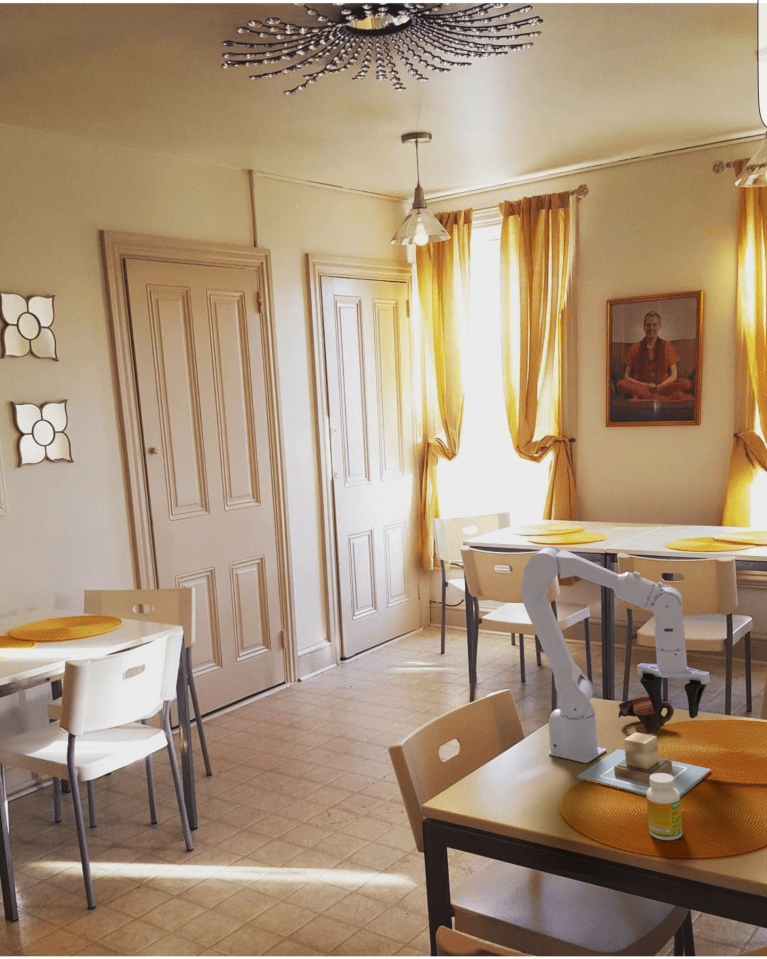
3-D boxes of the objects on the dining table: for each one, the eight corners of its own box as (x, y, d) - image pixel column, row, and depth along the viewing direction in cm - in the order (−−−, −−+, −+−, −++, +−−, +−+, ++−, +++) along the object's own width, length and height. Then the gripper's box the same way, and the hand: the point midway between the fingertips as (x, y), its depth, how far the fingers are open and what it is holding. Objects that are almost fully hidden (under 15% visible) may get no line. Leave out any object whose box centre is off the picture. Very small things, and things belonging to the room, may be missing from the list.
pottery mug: (625, 740, 190) (612, 703, 193) (628, 744, 198) (617, 708, 202) (679, 725, 187) (666, 688, 191) (681, 730, 195) (668, 694, 199)
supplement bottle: (678, 843, 143) (674, 786, 142) (645, 837, 146) (641, 781, 145) (686, 829, 147) (681, 773, 147) (654, 823, 150) (649, 769, 150)
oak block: (626, 764, 170) (624, 739, 169) (637, 756, 173) (635, 732, 172) (647, 769, 166) (645, 743, 166) (658, 761, 170) (656, 736, 169)
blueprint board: (577, 778, 171) (576, 766, 171) (618, 751, 182) (617, 739, 182) (673, 803, 157) (672, 789, 157) (711, 772, 168) (710, 759, 168)
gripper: (628, 648, 177) (633, 713, 178) (696, 656, 167) (701, 725, 168) (644, 639, 182) (649, 703, 183) (712, 647, 172) (717, 714, 173)
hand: (675, 713), depth 176 cm, fingers open, 7 cm apart
